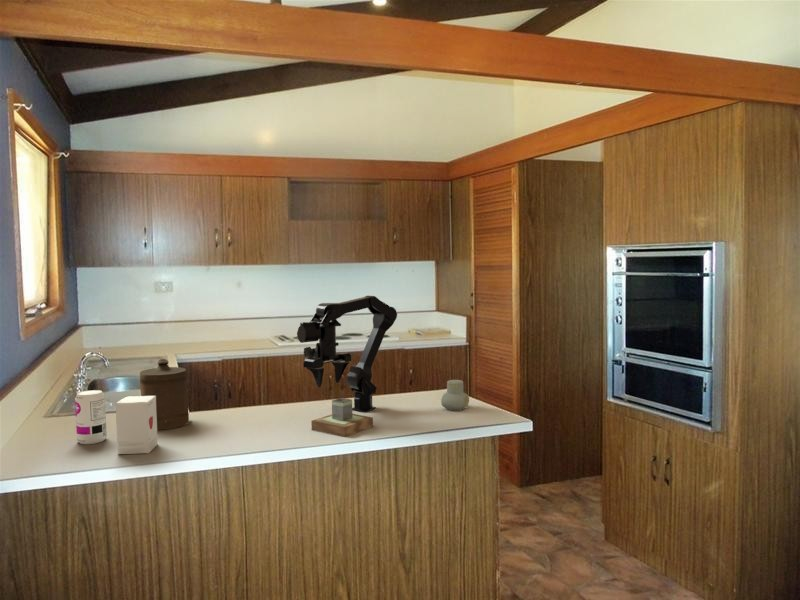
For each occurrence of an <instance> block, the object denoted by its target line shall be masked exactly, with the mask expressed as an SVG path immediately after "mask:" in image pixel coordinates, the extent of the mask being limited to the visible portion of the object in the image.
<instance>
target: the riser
mask: <svg viewBox="0 0 800 600" xmlns="http://www.w3.org/2000/svg"><path fill="white" fill-rule="evenodd" d="M373 427H374V417H372V416H367V415H363V414H362V415H361V414H356V413H352V418H351V419H348V420H345V421H340V420H335V419H332V413H331V414H329V415H326V416H321V417H319V418H316V419H315V418H314V419H312V420H311V430H312V431H314V432H315V431H316V432H319V433H323V434H324V433H325V434H328V435H335V436H340V437H342V438H343V437H344V438H346V437H348V436H351V435H354V434H356V433H359V431H360V432H362V431H365V430H367V429H368V430H369V428H373Z"/></svg>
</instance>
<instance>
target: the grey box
mask: <svg viewBox="0 0 800 600" xmlns="http://www.w3.org/2000/svg"><path fill="white" fill-rule="evenodd" d="M352 408H353V399H349V398H345V397H340V398H339V397H338V398H335V399H331V414H332V419H335V420H340V421H345V420H348V419H351V418H352V414H353V410H352Z"/></svg>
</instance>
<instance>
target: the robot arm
mask: <svg viewBox="0 0 800 600" xmlns="http://www.w3.org/2000/svg"><path fill="white" fill-rule="evenodd" d="M365 309H368V311H369V312H370V313H371V314H372V315H373V317H372V329H371V331H370V334H369V336H368V339H367V342H366V344H365V346H364V349H363V351H362V354H361V356H360V359H359V362H358V363H357V364H356V365H351V366H350V368H349V371H348V373H347V374H346V377H347V378H346V382H347V385H348V387H349V388H350V390H351V392H354V397H353V400H354V401H353V404H354V405H353V406H354V407H352V411H356V412H357V411H358V412H363V413H364V412H365V413H366V412H369V411H371V410H376V409H377V407H376V406H373V394H376V392H377V386H376V385H375V384H374V383H373V382H372V379H373V378H372V377H373V372H372V369H373V368H372V367H373V365H374V363H375V360H376V357H377V355H378V352H379V351H380V348H381V345H382V342H383V340H384V337H385V335H386V332H387V331H388V330H389V329H390V328H391V327H392V326H393V325H394V324H395V321H396V320H397V318H398V313H397V309H396V308H395V307H393V306H390V305H388V304H387V303H385V302H384V301H382V300H380V299H379V298H378V297H377V296H375V295H365V296H362V297H359V298H355V299H350V300H346V301H342V302H322V303H319V304H318V305H317V307H316V310H315V312H314V314H313V316H312V317H311V318H310V320H309V322H308V321H307V322H306V321H305V322H304V321H300V322H299V323H300V324H299V327H298V329H297V332H296V335H297V339H298V341H299V343H310V342H311V343H312V342H316V344H315V347H314V348H312V347H311V346H307V347H304V348H303V356H304V357H305V358H304V359H303V365H302V366H303V367H302V368H305V369H306V370H308V371H310V372H311V374H312V376H313V379H314V381H315V383H316V386H317V388H321V387H322V383H323V379H324V378H323V377H324V372H325V368H324V364H328V363H329V364H330V363H331V364H332V365H333V367H334V379H335V383H340V380H341V379H342V377H343V374H344V372H345V370H346V368H347V366H348V365H349V364H350V362H352V355H351V353H349V352H343V351H338V352H337V347H338V346H339V342H338V341H337V333H336V332H337V329H336V327H342V323H340V322H339V321H338V319H339V318H342V316H343V315H345V314H349V313H353V312H357V311H360V310H365Z"/></svg>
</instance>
